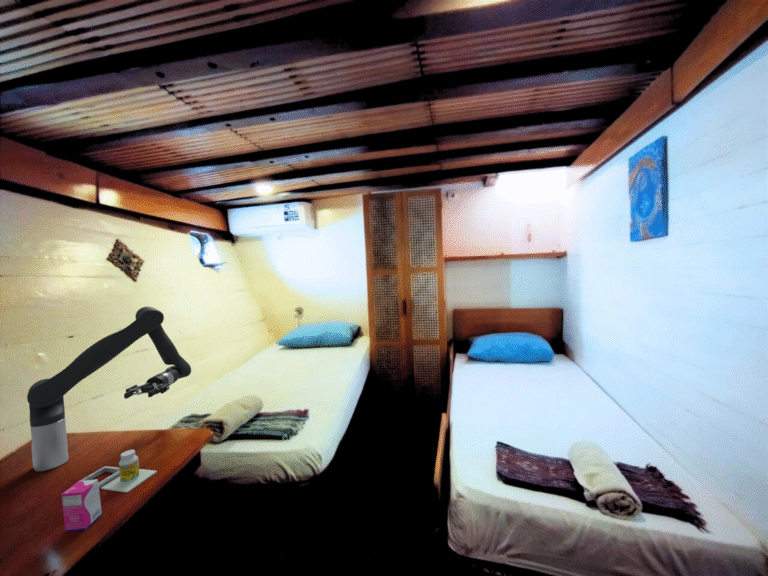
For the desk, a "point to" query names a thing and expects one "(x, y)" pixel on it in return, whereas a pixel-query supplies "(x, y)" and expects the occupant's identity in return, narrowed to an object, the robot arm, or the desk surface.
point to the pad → (126, 487)
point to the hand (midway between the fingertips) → (137, 395)
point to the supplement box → (81, 505)
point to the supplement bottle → (128, 466)
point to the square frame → (102, 470)
